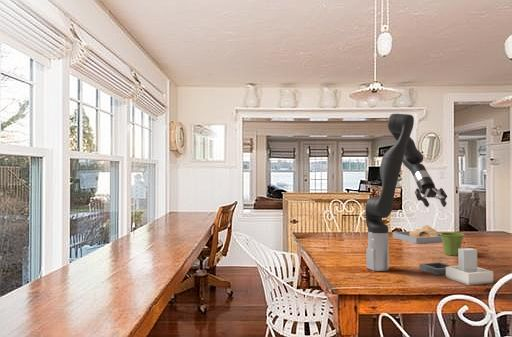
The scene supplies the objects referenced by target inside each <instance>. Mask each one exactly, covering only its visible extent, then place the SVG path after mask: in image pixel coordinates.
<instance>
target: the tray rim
mask: <svg viewBox="0 0 512 337" xmlns="http://www.w3.org/2000/svg"><path fill="white" fill-rule="evenodd" d="M410 232H411V231H410V230H409V231H396V232H392V238H393V239H397V240H400V241H404V242H407V243H412V244H416V245H418V244H431V243H432V244H433V243H443V241H442V238H441V235H440V233H438V236H435V237H420V238H416V237H412V236H410V235H409V233H410Z"/></svg>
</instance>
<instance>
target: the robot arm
mask: <svg viewBox="0 0 512 337" xmlns="http://www.w3.org/2000/svg"><path fill="white" fill-rule="evenodd" d="M414 124H415V117H414V116H413V115H412V114H407V113H392V114H390V116H389V117H388V119H387V128H388V130H389V132H390V134H391V135H392V137H393V138H394V139H395V140H396V142H395V143H394V144H393V145H392V146H391V147H390V148H389V149H388V150H387V151H386V152H385V153H384V154H383V156H382V159H381V163H380V167H379V175H380V180H381V191H380V195H379V197H378V196H375V197H374V196H372V197H369V198H368V199H367V200H366V203H365V207H364V209H365V225H366V227H367V247H366V248H365V251H366V253H365V255H366V256H365V257H366V259H365V261H366V264H365V265H366V266H365V267H366V269H368V270H371V271H378V272H379V271H380V272H386V271H389V269H390V258H389V256H390V253H389V252H390V251H389V249H390V248H389V247H390V246H389V244H390V243H389V240H390V238H389V234H390V233H389V226H388V225H387V224H386V223H385V222H384V221H383V219H387V218H388V217H389V216H390V215H391V213H392V211H393V206H394V201H395V194H396V188H397V185H398V184H397V183H398V179H399V176H400V173H401V169H402V165H404V167H406V168H407V169H408V170H409V171H410V173H411V174H412V176H413V178H414V181H415V184H416V186H417V188H416V189H415V190H414V194H415V197H416V200H418V201H419V202H420V201H421V202H422V203H423V205H424V206H425V208H429V207H430V203H429V201H428V199H429V198H431V199H433V198H434V199H436V200H438V201H439V202H440V204H441V205H442V207H443V208H444V207H446V206H447V201H446V200H447V198H448V195H447V193H446V192H445V190H444V189H443V188H442V187H440V188H439V189H438V188H436V185H435V183H434V181H433V179H432V177H431V175H430V174H429V173H428V170H427V169H426V167H425V165H424V164H422V163H423V161H424V155H423V154H422V152H421V151H420V150H418V148H417V146H416V143H415V141H414V139H413V138H412V137H411V134H412V132H413V129H414ZM422 195H423V196H422ZM427 198H428V199H427Z"/></svg>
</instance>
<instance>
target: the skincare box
mask: <svg viewBox="0 0 512 337" xmlns="http://www.w3.org/2000/svg"><path fill="white" fill-rule="evenodd" d="M457 260H458V263H457V264H458V265H457V266H458V270H461V271H464V272H467V273H473V272H477V267H478V249H475V248H472V247H468V248H466V247H465V248H463V247H461V249H458V259H457Z"/></svg>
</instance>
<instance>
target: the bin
mask: <svg viewBox="0 0 512 337" xmlns="http://www.w3.org/2000/svg"><path fill="white" fill-rule="evenodd" d="M445 278H447V279H450V280H452V281H455V282H459V283H462V284H464V285H467V286H473V285H482V284H491V283H494V271H493V270H489V269H486V268H482V267H479V266H477V272H473V273H467V272H464V271H461V270H458V265H450V266H449V267H446V274H445Z"/></svg>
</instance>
